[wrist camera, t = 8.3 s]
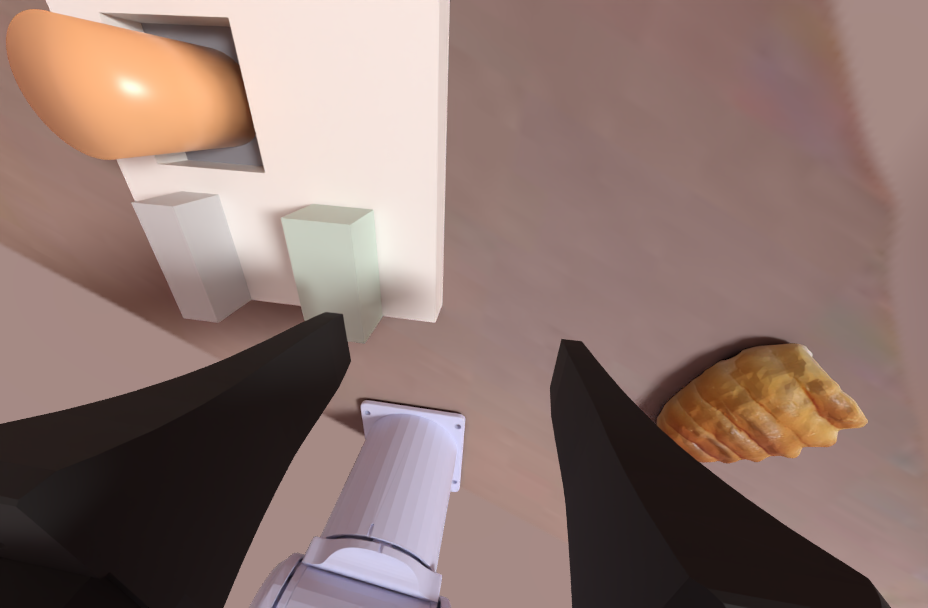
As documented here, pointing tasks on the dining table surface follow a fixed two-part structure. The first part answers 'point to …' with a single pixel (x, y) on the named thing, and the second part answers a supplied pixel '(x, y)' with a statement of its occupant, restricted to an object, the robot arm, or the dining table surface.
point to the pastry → (759, 407)
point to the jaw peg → (126, 88)
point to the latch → (336, 265)
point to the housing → (300, 145)
